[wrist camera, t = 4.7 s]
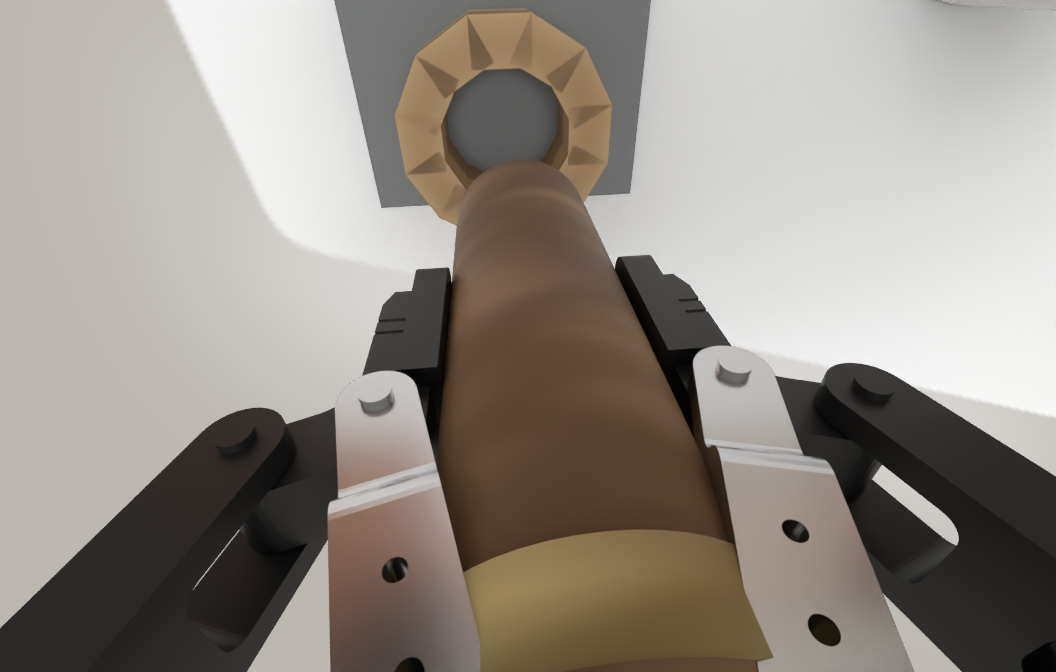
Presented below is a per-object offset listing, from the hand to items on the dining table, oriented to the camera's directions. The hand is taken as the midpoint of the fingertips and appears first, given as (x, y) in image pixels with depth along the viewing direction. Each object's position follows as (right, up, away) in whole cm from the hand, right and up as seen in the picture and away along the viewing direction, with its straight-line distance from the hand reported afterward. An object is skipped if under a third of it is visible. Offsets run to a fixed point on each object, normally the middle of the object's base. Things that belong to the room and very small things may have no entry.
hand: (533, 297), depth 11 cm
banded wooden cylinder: (0, +3, +3) cm, 4 cm away
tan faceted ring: (-1, +11, +14) cm, 18 cm away
